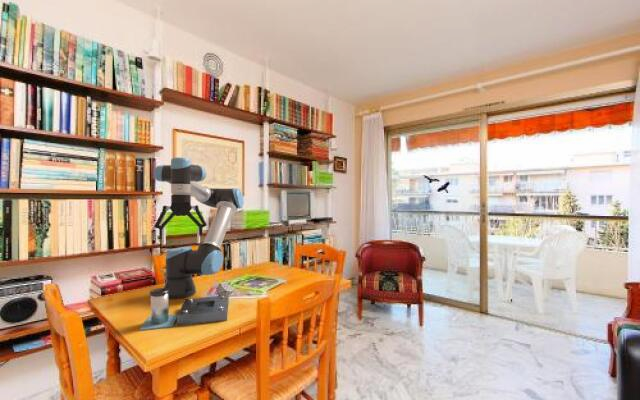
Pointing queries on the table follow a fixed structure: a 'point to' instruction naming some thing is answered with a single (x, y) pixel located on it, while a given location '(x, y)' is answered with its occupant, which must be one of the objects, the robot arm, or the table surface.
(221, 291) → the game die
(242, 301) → the table surface
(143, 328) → the mat
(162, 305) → the silver cylinder
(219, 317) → the housing
